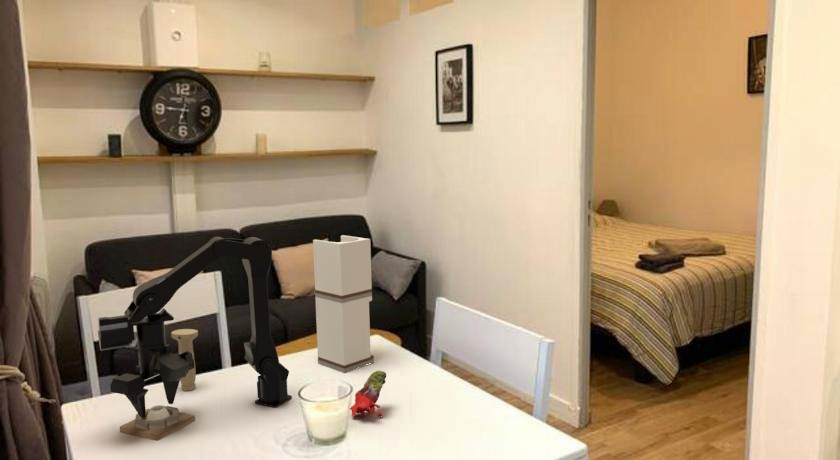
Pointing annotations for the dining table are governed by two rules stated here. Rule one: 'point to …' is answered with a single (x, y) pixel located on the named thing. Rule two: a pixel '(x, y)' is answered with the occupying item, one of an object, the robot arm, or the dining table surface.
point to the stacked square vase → (343, 302)
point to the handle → (185, 345)
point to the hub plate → (158, 431)
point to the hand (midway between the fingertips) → (157, 410)
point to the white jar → (157, 413)
